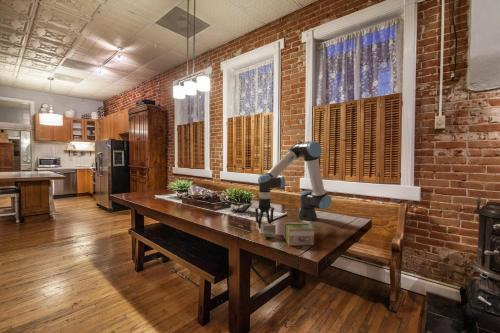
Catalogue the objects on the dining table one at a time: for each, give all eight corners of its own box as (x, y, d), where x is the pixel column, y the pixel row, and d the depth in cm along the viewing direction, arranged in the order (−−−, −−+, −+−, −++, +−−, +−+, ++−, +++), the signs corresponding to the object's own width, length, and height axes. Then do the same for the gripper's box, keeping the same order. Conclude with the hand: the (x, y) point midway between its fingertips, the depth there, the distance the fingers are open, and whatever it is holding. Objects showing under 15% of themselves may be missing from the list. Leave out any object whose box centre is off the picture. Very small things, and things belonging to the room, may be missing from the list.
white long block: (253, 228, 178) (253, 218, 178) (264, 227, 180) (264, 218, 180) (263, 237, 155) (263, 226, 155) (275, 236, 157) (275, 225, 157)
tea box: (306, 221, 158) (315, 229, 144) (306, 237, 159) (314, 246, 144) (283, 222, 157) (289, 229, 142) (283, 237, 158) (289, 246, 143)
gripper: (253, 199, 160) (253, 235, 161) (278, 198, 164) (278, 233, 165) (250, 197, 167) (250, 232, 168) (274, 196, 172) (274, 230, 173)
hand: (264, 232), depth 167 cm, fingers closed on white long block, 4 cm apart
